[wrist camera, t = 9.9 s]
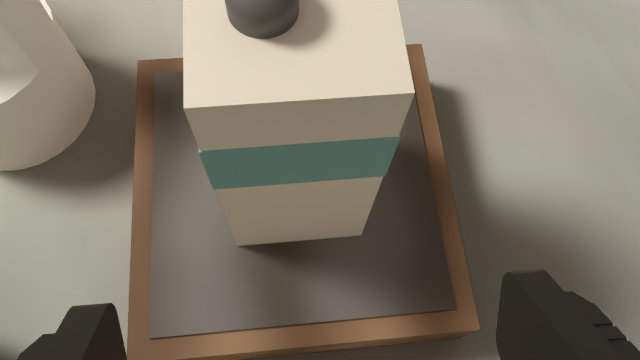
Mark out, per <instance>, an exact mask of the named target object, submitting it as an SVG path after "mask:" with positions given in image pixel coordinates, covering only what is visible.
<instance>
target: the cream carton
mask: <svg viewBox="0 0 640 360" xmlns="http://www.w3.org/2000/svg"><path fill="white" fill-rule="evenodd" d="M414 94H415V90H414V85H413V80H412V75H411V70H410V65H409V60H408V54H407V49H406V44H405V39H404V34H403V29H402V24H401V19H400V13H399V8H398V3H397V0H183V109H184V111H185V114H186V116H187V119H188V121H189V124H190V126H191V129H192V132H193V134H194V137H195V139H196V142H197V144H198V153H199V155H200V158H201V160H202V163H203V165H204V168H205V170H206V173H207V175H208V178H209V180H210V183H211V185H212V188H213V190H216V193H217V196H218V198H219V201H220V203H221V206H222V208H223V211H224V213H225V216H226V219H227V221H228V224H229V226H230V229H231V231H232V234H233V236H234V239H235V242H236V244H237V246H244V245H256V244H267V243H279V242H291V241H302V240H314V239H325V238H337V237H348V236H360V235H361V234H362V232H363V229H364V227H365V224H366V221H367V219H368V216H369V213H370V211H371V208H372V205H373V203H374V200H375V197H376V195H377V192H378V189H379V187H380V184H381V181H382V179H383V176H386V174H387V171H388V168H389V166H390V163H391V161H392V158H393V156H394V153H395V150H396V148H397V145H398V143H399V140H400V131H401V128H402V126H403V123H404V121H405V118H406V115H407V113H408V110H409V107H410V105H411V102H412V99H413V97H414Z"/></svg>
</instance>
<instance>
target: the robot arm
mask: <svg viewBox="0 0 640 360" xmlns="http://www.w3.org/2000/svg"><path fill="white" fill-rule="evenodd" d="M496 341H497V348H498V352H499V355H500V358H501V360H640V351H639V350H638V349H637V348H636V347H635V346H634V345H633V344H632V343H631V342H630V341H628V342H627V340H626V337H625V336H624V335H623V334H622V332H621V331H620V330H619V329H618V328H617V327H616V326H615V327H613V325H612V322H611V321H610V320H609V319H608V318H607V317H606V316H605V315H604V314H603V312H602V311H601V310H600V309H599V308H598V307H597V306H596V305H594V304H592V303H591V302H589V301H587V300H586V299H584V298H582V297H581V296H579V295H577V294H576V293H574V292H572V291H571V292H564V291H563V290H562V289H561V288H560V286H559V285H558V284H557V283H556V282H555V281H554V280H553V279H552V277H551V276H550V275H549V274H548V273H547V272H546V271H544V270H530V271H518V272H507V273H505V275H504V277H503V279H502V286H501V294H500V303H499V312H498V321H497V330H496ZM17 360H127V356H126V352H125V347H124V342H123V338H122V333H121V329H120V324H119V319H118V315H117V311H116V308H115V306H114V305H113V304H112V303H106V304H94V305H81V306H73V307H71V308H70V309H69V311H68V312H67V314H66V316H65V317H64V319H63V321H62V323H61V324H60V326H59V328H58V330H57V331H56V333H55V334H43V335H42V336H41V337H40V338H38V339H37V340H36V341H35V342H34V343H33V344H31V345H30V346H29V347H28V348H27V349H25V350H24V351H23V352H22V353H21V354H20V355H19V357H18V359H17Z"/></svg>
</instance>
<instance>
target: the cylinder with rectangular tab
mask: <svg viewBox="0 0 640 360" xmlns="http://www.w3.org/2000/svg"><path fill="white" fill-rule="evenodd" d="M95 91H96V90H95V86H94V82H93V78H92V75H91V73H90V72H89V70H88V68H87V67H86V65H85V64H84V62H83V60H82V59H81V57H80V56H79V54H78V52H77V51H76V49H75V48H74V46H73V45H72V43H71V41H70V40H69V38H68V37H67V35H66V33H65V32H64V30H63V29H62V27H61V25H60V24H59V22H58V21H57V19H56V18H55V16H54V14H53V13H52V11H51V10H50V8H49V6H48V5H47V3H46V2H45V0H0V171H12V170H22V169H25V168H29V167H32V166H36V165H39V164H42V163H44V162H46V161H47V160H49V159H51V158H53V157H55V156H57V155H58V154H60V153H61V152H63V151H64V150H65V149H66V148H67V147H68V146H70V145H71V144H72V143H73V142H74V141H75V140H76V139H77V138H78V137H79V135H80V134H81V132H82V131H83V130H84V128H85V127H86V126H87V124H88V122H89V119H90V117H91V114H92V112H93V109H94V104H95Z"/></svg>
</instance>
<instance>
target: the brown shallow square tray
mask: <svg viewBox="0 0 640 360" xmlns="http://www.w3.org/2000/svg"><path fill="white" fill-rule="evenodd" d="M406 49H407V54H408V60H409V65H410V70H411V75H412V80H413V85H414V90H415V94H414V97H413V99H412V102H411V105H410V107H409V110H408V113H407V115H406V118H405V121H404V123H403V126H402V128H401V131H400V140H399V143H398V145H397V148H396V150H395V153H394V156H393V158H392V161H391V163H390V166H389V168H388V171H387V174H386V176H383V179H382V181H381V184H380V187H379V189H378V192H377V195H376V197H375V200H374V203H373V205H372V208H371V211H370V213H369V216H368V219H367V221H366V224H365V227H364V229H363V232H362V234H361V235H360V236H348V237H337V238H325V239H314V240H302V241H291V242H279V243H267V244H256V245H244V246H237V244H236V242H235V239H234V236H233V234H232V231H231V229H230V226H229V224H228V221H227V219H226V216H225V213H224V211H223V208H222V206H221V203H220V201H219V198H218V196H217V193H216V190H213V188H212V185H211V183H210V180H209V178H208V175H207V173H206V170H205V168H204V165H203V163H202V160H201V158H200V155H199V153H198V144H197V142H196V139H195V137H194V134H193V132H192V129H191V126H190V124H189V121H188V119H187V116H186V114H185V111H184V109H183V58H172V59H155V60H138V72H137V99H136V126H135V152H134V179H133V205H132V232H131V259H130V285H129V312H128V339H127V360H242V359H252V358H262V357H273V356H283V355H293V354H303V353H313V352H323V351H333V350H343V349H353V348H363V347H373V346H383V345H393V344H403V343H413V342H423V341H433V340H443V339H453V338H460V337H463V336H465V335H468V334H470V333H473V332H475V331H478V330H480V325H479V320H478V316H477V311H476V306H475V301H474V296H473V291H472V286H471V282H470V277H469V272H468V267H467V262H466V257H465V253H464V248H463V243H462V238H461V233H460V228H459V223H458V219H457V214H456V209H455V204H454V199H453V194H452V189H451V185H450V180H449V175H448V170H447V165H446V160H445V155H444V151H443V146H442V141H441V136H440V131H439V126H438V121H437V117H436V112H435V107H434V102H433V97H432V92H431V87H430V83H429V78H428V73H427V68H426V63H425V58H424V53H423V49H422V44H411V45H406Z"/></svg>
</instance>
